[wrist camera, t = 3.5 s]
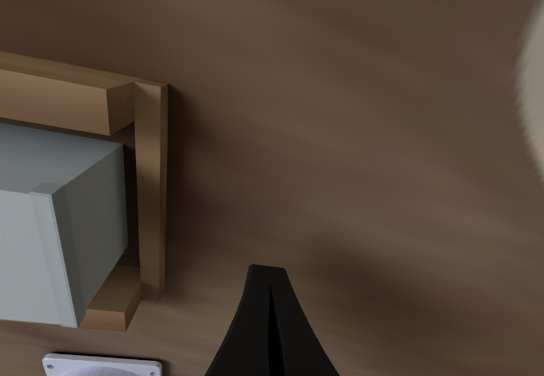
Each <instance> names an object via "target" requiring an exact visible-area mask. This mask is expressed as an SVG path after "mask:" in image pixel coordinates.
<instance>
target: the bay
mask: <svg viewBox="0 0 544 376" xmlns="http://www.w3.org/2000/svg"><path fill="white" fill-rule="evenodd" d="M168 86H169V84H167V83H162V82H157V81H152V80H147V79H142V78H137V77H132V76H127V75H122V74H117V73H112V72H107V71H101V70H96V69H91V68H86V67H81V66H76V65H71V64H66V63H61V62H56V61H51V60H46V59H41V58H36V57H31V56H26V55H21V54H16V53H11V52H6V51H1V50H0V117H3V118H9V119H15V120H21V121H27V122H32V123H38V124H44V125H50V126H56V127H62V128H68V129H73V130H79V131H85V132H91V133H97V134H103V135H108V136H110V135H112V134H114V133H115V132H117V131H119V130H120V129H122V128H124V127H125V126H127V125H129V124H130V123H132V122H134V121H135V146H136V172H137V199H138V226H139V252H140V267H137V266H129V265H120V264H116V265H115V266H114V268H113V269H112V271H111V272H110V274H109V275H108V277H107V278H106V280H105V281H104V283H103V284H102V286H101V287H100V289H99V290H98V292H97V293H96V295H95V296H94V297H93V299H92V300H91V302H90V303H89V305H88V306H87V308H86V309H85V311H86V316H85V317H84V319H83V320H82V322H81V323H80V325H79V326H78V328H87V329H99V330H110V331H122V332H126V331H127V328H128V326H129V324H130V322H131V320H132V318H133V316H134V314H135V312H136V309H137V307H138V305H139V303H140V301H141V299H143V300H153V301H159V300H160V298H161V295H162V293H163V290H164V288H165V238H166V187H167V137H168ZM0 321H6V322H18V323H29V324H41V325H53V326H61V325H59V324H48V323H37V322H26V321H15V320H4V319H0Z"/></svg>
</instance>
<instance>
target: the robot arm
mask: <svg viewBox="0 0 544 376" xmlns="http://www.w3.org/2000/svg"><path fill="white" fill-rule="evenodd" d="M42 362H43V365H44V368H45V371H46V374H47V376H162V364H161V363H160V362H158V361H148V360H135V359H121V358H108V357H95V356H81V355H68V354H55V353H49V354H47V355H46V356H45V357H44V358H43V360H42ZM205 376H340V375H339V374H338V372H337V371H336V369H335V368H334V366H333V365H332V363H331V361H330V360H329V358H328V356H327V355H326V353H325V351H324V350H323V348H322V346H321V344H320V343H319V341H318V339H317V337H316V336H315V334H314V332H313V330H312V328H311V326H310V324H309V322H308V320H307V318H306V316H305V314H304V312H303V310H302V308H301V306H300V304H299V302H298V300H297V297H296V295H295V293H294V290H293V288H292V286H291V283H290V281H289V278H288V275H287V273H286V270H285V269H284V268H279V267H271V266H263V265H255V264H252V265H250V266H249V268H248V273H247V278H246V282H245V287H244V292H243V296H242V298H241V301H240V304H239V306H238V309H237V312H236V314H235V316H234V319H233V321H232V323H231V325H230V327H229V330H228V332H227V334H226V336H225V338H224V340H223V342H222V344H221V346H220V348H219V350H218V352H217V354H216V356H215V358H214V360H213V361H212V363H211V365H210V367H209V369H208V370H207V372H206V374H205Z"/></svg>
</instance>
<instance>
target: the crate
mask: <svg viewBox="0 0 544 376" xmlns="http://www.w3.org/2000/svg"><path fill="white" fill-rule="evenodd" d="M127 247H128V229H127V210H126V192H125V173H124V154H123V144H121V143H115V142H109V141H104V140H98V139H92V138H86V137H81V136H75V135H69V134H63V133H58V132H52V131H46V130H40V129H35V128H29V127H23V126H17V125H11V124H6V123H0V319H4V320H15V321H26V322H37V323H48V324H59V325H61V326H63V327H74V328H78V326H79V325H80V323H81V322H82V320H83V319H84V317H85V316H86V311H85V309H86V308H87V306H88V305H89V303H90V302H91V300H92V299H93V297H94V296H95V295H96V293H97V292H98V290H99V289H100V287H101V286H102V284H103V283H104V281H105V280H106V278H107V277H108V275H109V274H110V272H111V271H112V269H113V268H114V266H115V265H116V263H117V262H118V260H119V259H120V257H121V256H122V254H123V253H124V251H125V250H126V248H127Z"/></svg>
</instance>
